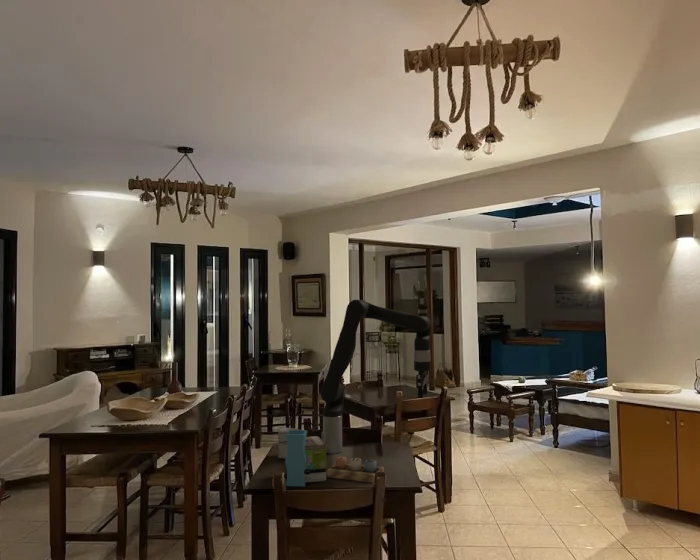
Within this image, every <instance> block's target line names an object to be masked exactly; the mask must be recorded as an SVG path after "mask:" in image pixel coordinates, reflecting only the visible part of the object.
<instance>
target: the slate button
mask: <svg viewBox="0 0 700 560" xmlns="http://www.w3.org/2000/svg"><path fill="white" fill-rule="evenodd" d="M364 465H365V472H367V473H375V472H377V460H375V459H366V460H364Z"/></svg>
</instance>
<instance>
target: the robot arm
mask: <svg viewBox="0 0 700 560" xmlns="http://www.w3.org/2000/svg"><path fill="white" fill-rule="evenodd" d="M362 319H370V320H371V319H373V320H378V321H381V322H383V323H386V324H390V325H392V326H395V327H399V328H406V329H408V330H411V331H414V332H415V333H416V334H415V338H414V342H413V343H414V345H413V346H414V347H413V348H414V352H413V371H415V372H418V374H416V376H415V377H416V379H415V383H416V385H415V387H416V389H417V397H418V398H420V399H423V397H424V395H426V396H427V395H428V386H429V372H430V371H431V370H432V369H431V368H432V363H431V361H432V360H431V359H432V358H431V343H430V341H431V340H430V337H431V333H432V332H431V331H432V323H431V322H432V321H431V319H430V318H429V317H428V316H426V315H415V314H411V313H410V312H409V313H408V312H405V311H400V310H397V309H390V308H387V307H381V306H378V305H375V304H373V303H370V302H368V301H365V300H363V299H353V300H350V302H349V303H348V304H347V306H346V309H345V315H344V320H343V323H342V327H341V329H340V333H339V336H338V339H337V341H336V344H335V348H334V350H333V355H332V357H331V361H330V364H329V369H328V371H327V373H326V377H325V379H324V381H323V383H322V385H321V388H320V397H321V399H322V400H323V401H324V402H325V405H324V407H323V409H322V423H323V424H322V431H321V440H322V441H323V442H325V443H326V445H327V452H326V454H331V455H333V454H334V455H335V454H340V453H342V452H343V410H344V400H345V399H344V395H345V394H344V387H343V385H342V383H341V380H342V377H343V375H344V373H346V370H347V368H349V366H350V364H351V362H352V359H353V357H354V354H355V350H356V346H357V331H358V327H359V326H360V322H361V320H362Z"/></svg>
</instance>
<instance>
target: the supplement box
mask: <svg viewBox="0 0 700 560" xmlns="http://www.w3.org/2000/svg"><path fill="white" fill-rule="evenodd" d="M289 430H300V429H299V428H292V427H291V428H290V427H284V428H282V429H280V430H278V431H277V432H278V435H277V436H278V438H277V439H278V441H277V443H278V445H277V447H278V448H277V449H278V450H277V457H278V459H285V460H286V456H287V452H288V444H287V439H286V434H289Z"/></svg>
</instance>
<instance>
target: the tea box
mask: <svg viewBox="0 0 700 560" xmlns="http://www.w3.org/2000/svg"><path fill="white" fill-rule="evenodd" d="M326 452H327V448H326V443H325V442H323V441H322V438H320V437H319V436H318V435H314V436H306V445H305V453H306V457H307V460H306V463H305V469H304V479H305V483H314V482H315V483H316V482H325V481H326V480H327V453H326Z"/></svg>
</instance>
